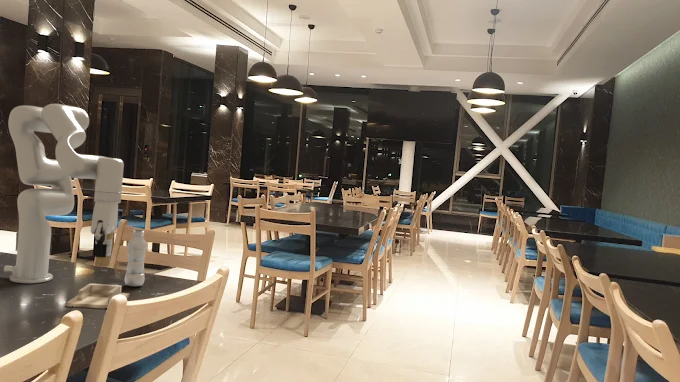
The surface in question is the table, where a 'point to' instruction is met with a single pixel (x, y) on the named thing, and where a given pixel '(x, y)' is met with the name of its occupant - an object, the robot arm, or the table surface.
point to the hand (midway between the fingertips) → (103, 254)
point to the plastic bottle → (136, 259)
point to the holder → (95, 296)
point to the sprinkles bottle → (106, 260)
